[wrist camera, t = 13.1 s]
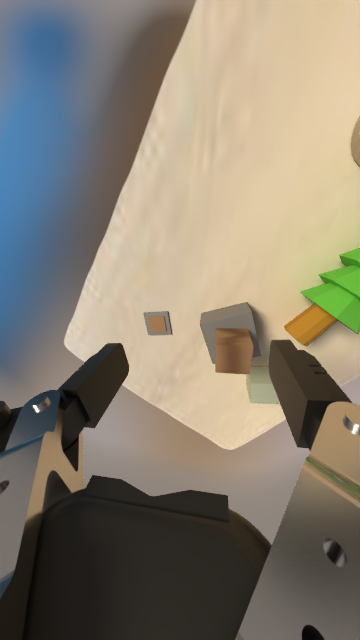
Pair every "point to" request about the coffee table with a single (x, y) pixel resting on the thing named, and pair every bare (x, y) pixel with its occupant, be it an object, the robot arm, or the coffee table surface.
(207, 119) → the coffee table surface
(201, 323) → the base block
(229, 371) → the walnut cube
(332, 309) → the decorative tree
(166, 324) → the card
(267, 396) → the sage cube
